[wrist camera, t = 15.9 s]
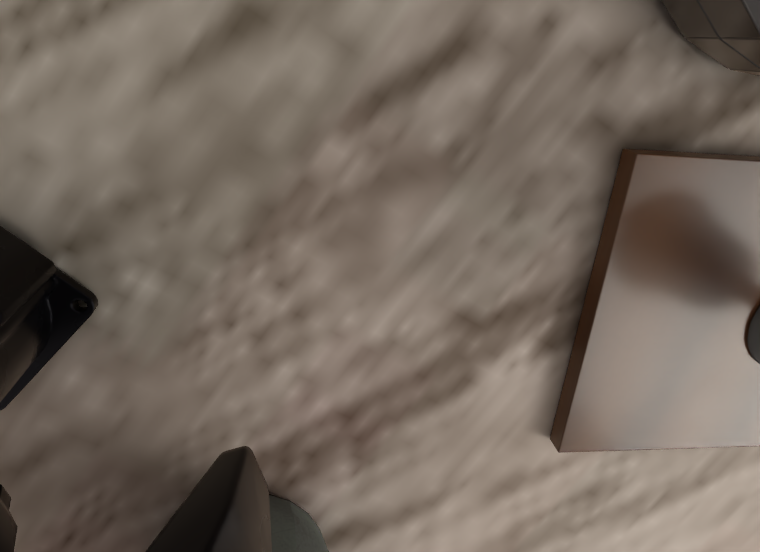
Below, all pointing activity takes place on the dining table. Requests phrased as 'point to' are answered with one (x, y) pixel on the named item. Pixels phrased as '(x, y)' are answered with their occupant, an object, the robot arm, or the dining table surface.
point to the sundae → (754, 336)
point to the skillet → (721, 30)
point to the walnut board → (669, 311)
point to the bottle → (293, 528)
